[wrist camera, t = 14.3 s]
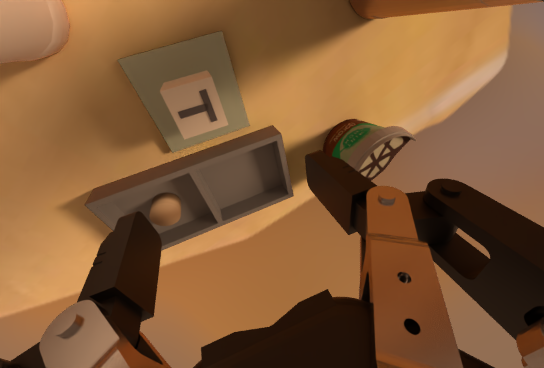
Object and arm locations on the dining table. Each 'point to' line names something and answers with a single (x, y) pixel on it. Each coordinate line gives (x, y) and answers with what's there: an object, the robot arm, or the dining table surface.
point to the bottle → (32, 29)
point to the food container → (365, 145)
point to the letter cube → (194, 104)
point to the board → (179, 63)
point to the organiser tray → (204, 186)
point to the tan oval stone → (165, 209)
